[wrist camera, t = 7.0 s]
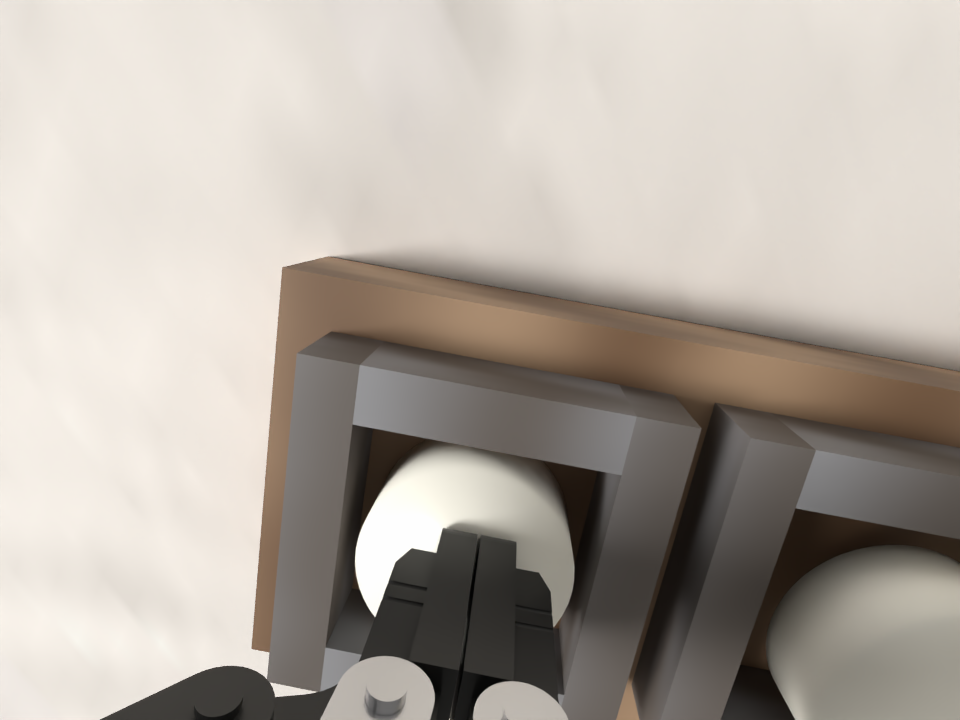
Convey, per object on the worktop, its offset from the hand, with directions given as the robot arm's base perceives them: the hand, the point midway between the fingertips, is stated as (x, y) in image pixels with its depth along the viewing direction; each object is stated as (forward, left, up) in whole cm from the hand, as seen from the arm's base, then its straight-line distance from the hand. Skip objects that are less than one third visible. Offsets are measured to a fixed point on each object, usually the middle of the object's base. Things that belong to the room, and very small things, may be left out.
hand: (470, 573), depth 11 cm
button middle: (+8, 0, 0) cm, 8 cm away
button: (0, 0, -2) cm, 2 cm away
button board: (+8, 0, -5) cm, 10 cm away
